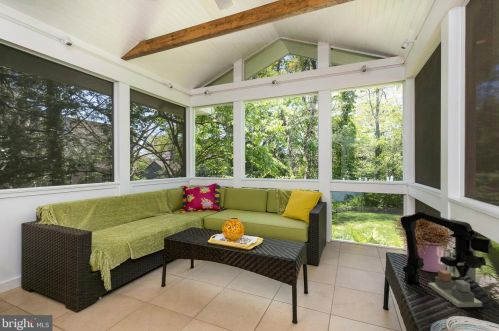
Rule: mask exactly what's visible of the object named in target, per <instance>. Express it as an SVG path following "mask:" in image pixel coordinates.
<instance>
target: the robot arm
mask: <svg viewBox="0 0 499 331" xmlns="http://www.w3.org/2000/svg"><path fill="white" fill-rule="evenodd" d="M419 220H424V221H426V222H430V223H433V224H436V225H438V226H441V227H444V228H447V229H448V230H449V231H451V232H453V233H451V234H450V235H449V237H451V238H454V241H455V242H454V247H452V250H455V255H453V257H454V258H455V259H452V258H450V257H445V256H440V258H439V259H440V263H442V264H444V265H446V267H447V266H450V267H453V266H455V267H456V269H457V271H458V273H459V277H460V278H463V279H464V278H465V277H466V276H467V273H468V271H469V270H470V269H481V268H482V266H486V265H487V261H486V258H485V257H483V256H477V255H474V252H473V251H475V252H479V253H483V254H487V255H491V254H492V252H493V243H492V241H491V239H490V238H483V237H480V236H479V237H478V234H476V232H475V231H474V230H473V227H472V225H471V224H470V223H468V222H466V221H461V220H455V219H454V220H453V219H452V220H451V219H449V218H445V217H442V216H440V215H439V216H438V215H436V214H434V213H430V212H427V211H424V210H421V211H420V210H419V211H418V212H415V213H413V214H408V215H403V216H402V217H401V218H400V223H401V226H402V229H404V231H405V238H406V243H407V244H406V245H407V250H408V252H407V253H408V256H407V259H406V265H405V266H403V267H402V271H403V272H404V277H402V279H403V280H404V281H405V282H406V283H408V284H409V285H421V282H420V274H419V272H420V270H422V269H423V268H424V266H425V263H424V258H423V257H420V255H419V251H418V244H417V243H418V242H417V238H416V227H417V221H419ZM486 267H487V266H486Z"/></svg>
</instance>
